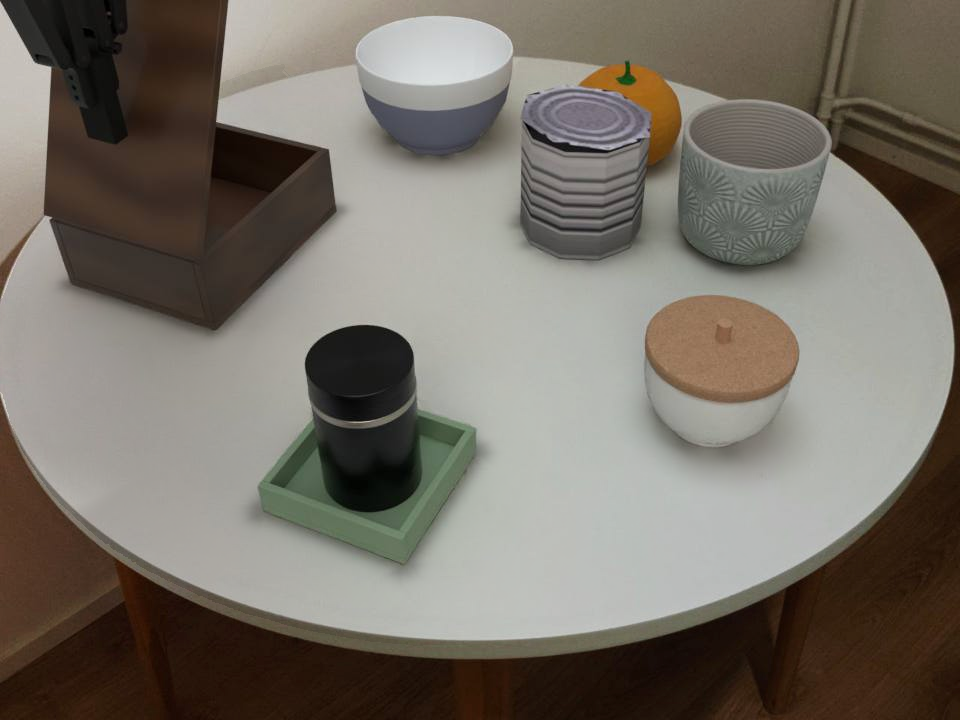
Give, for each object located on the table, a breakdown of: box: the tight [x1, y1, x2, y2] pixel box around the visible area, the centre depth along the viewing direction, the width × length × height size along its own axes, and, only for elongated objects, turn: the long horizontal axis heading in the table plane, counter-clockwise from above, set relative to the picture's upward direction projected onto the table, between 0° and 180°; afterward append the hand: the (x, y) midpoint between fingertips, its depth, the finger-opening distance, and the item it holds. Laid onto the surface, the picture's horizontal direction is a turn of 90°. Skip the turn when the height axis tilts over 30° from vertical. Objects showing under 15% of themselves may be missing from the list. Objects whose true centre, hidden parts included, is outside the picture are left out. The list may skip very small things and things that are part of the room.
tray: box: [257, 408, 477, 565], centre depth 74 cm, size 11×11×3 cm
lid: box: [43, 0, 229, 260], centre depth 83 cm, size 20×16×1 cm
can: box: [519, 84, 651, 261], centre depth 95 cm, size 11×11×12 cm
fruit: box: [577, 60, 683, 167], centre depth 105 cm, size 12×12×10 cm
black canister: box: [304, 324, 422, 512], centre depth 71 cm, size 7×7×11 cm
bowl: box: [354, 15, 515, 156], centre depth 109 cm, size 16×16×10 cm
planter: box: [677, 98, 833, 266], centre depth 93 cm, size 12×12×11 cm
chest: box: [48, 121, 337, 331], centre depth 95 cm, size 20×16×7 cm
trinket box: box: [643, 294, 800, 448], centre depth 76 cm, size 11×11×9 cm
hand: (108, 136), depth 81 cm, fingers closed
